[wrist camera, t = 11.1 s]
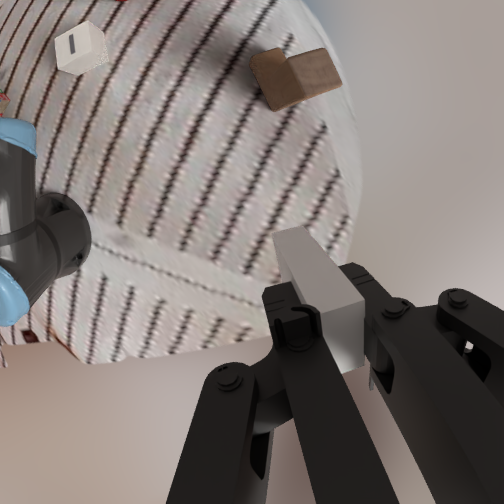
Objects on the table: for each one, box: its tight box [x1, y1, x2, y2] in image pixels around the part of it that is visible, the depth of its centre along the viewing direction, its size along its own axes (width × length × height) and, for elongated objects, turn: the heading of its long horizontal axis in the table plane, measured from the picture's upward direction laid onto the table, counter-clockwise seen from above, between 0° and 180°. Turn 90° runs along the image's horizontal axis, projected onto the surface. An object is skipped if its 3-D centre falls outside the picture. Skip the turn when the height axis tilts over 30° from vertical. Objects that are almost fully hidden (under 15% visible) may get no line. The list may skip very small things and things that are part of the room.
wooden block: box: [249, 48, 342, 112], centre depth 30 cm, size 9×4×18 cm, turn 25°
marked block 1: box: [55, 20, 109, 76], centre depth 29 cm, size 6×6×7 cm
